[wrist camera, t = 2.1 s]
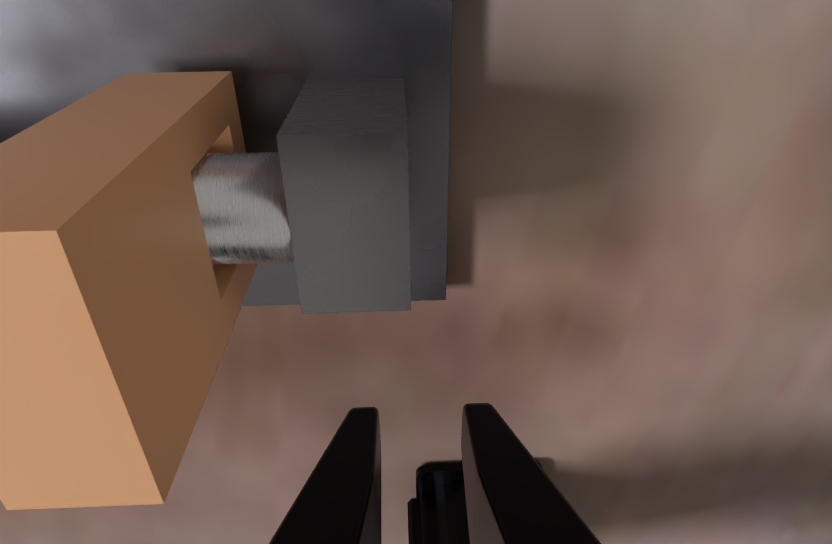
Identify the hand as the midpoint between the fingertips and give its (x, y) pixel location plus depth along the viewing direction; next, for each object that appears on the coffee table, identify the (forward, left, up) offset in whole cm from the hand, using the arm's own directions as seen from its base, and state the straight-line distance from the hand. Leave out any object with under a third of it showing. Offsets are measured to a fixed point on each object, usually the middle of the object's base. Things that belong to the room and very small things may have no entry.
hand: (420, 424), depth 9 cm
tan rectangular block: (+7, 0, -11) cm, 13 cm away
